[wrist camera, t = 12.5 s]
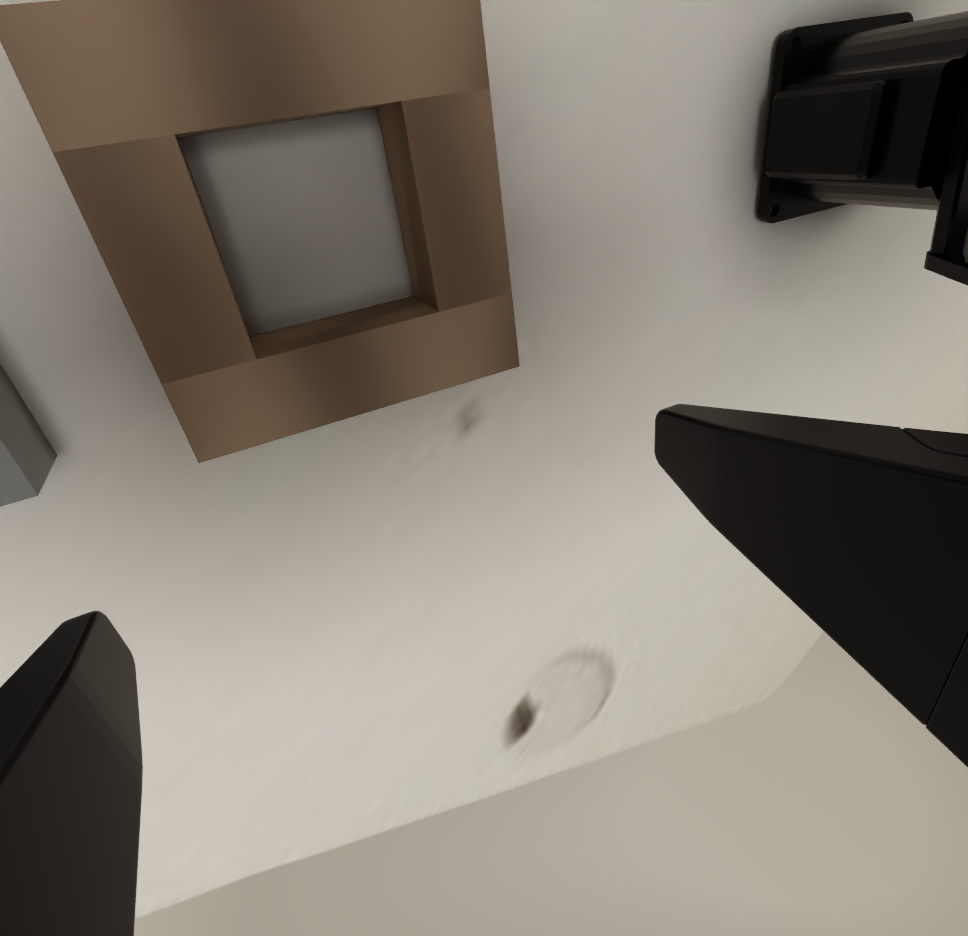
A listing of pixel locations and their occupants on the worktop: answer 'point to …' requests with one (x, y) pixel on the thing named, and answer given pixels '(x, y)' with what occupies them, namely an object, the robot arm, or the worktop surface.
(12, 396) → the tray
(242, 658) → the worktop surface
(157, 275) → the square wooden frame
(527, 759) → the worktop surface
